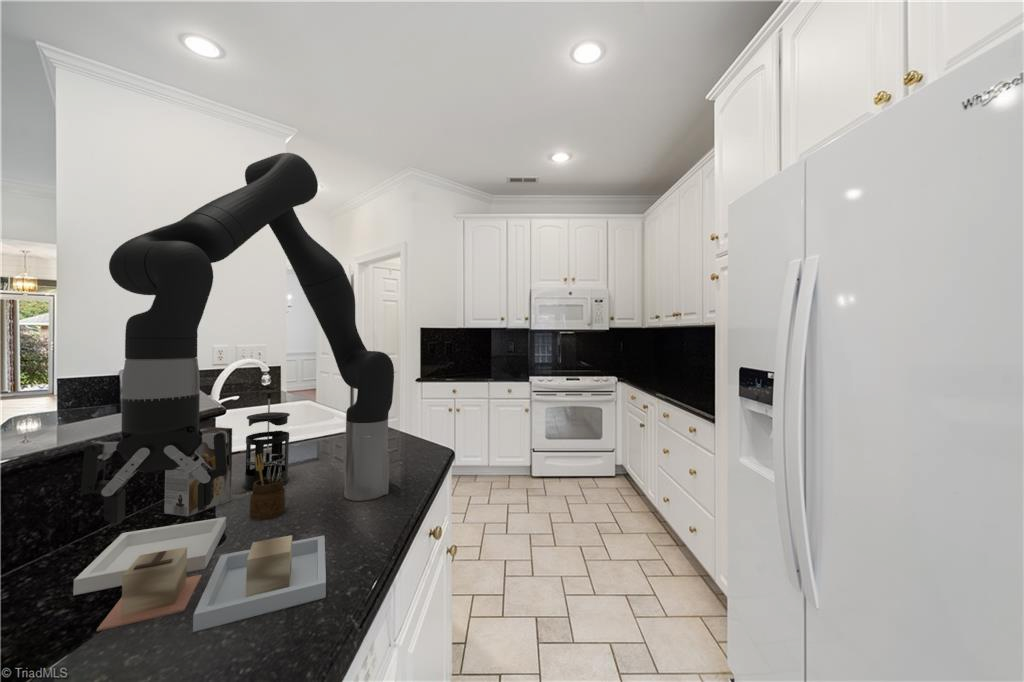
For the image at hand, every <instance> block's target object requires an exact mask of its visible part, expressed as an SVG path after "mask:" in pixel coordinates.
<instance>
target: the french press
mask: <svg viewBox="0 0 1024 682" xmlns="http://www.w3.org/2000/svg"><path fill="white" fill-rule="evenodd" d="M277 393H280V390H274V389H272V390H271V389H269V390H268V389H267V390H262V391H259V392H258V394H266V399H267V402H268V403H267V407H268V408H267V412H260V413H254V414H250V415H248V416H246V419H247V420H248V427H251V426H252V425H253V424H254V425H255V424H257V423H264V422H267V430H266V431H263V432H262V431H260V432H257V433H252V434H249V435H247V436H246V437H245V445H246V450H245V472H244V484H243V487H242V488H243V489H244V490H246V491H249V492H253V484H254V482H256V481H258V480H261V479H260V473H259V471H256V466H255V458H254V456H251V453H252V451H251V450H252V449H251V446H255V448H254V449H255V450H254V451H255V453H254V455H256V459H257V465H258V458H257V455H258V454H259V458H260V454H262V458H263V464H264V469H263V470H262V477H263V479H264V478H270V477H280V478H282V479H283V482H284V485H283V486H285V485H287V484H288V483H289V482H290V478H289V449H290V448H289V445H290V432H288V431H285V430H273V431H272V430H270V424H271V425H274V426H285V425H287V424H288V419H289V418H288V417H290V416H291V413H289V412H284V411H283V412H278V411H275V412H274V411H273V412H272V411H271V410H270V409H271V408H270V407H271V399H272V397H273V395H272V394H277ZM270 411H271V412H270ZM270 437H271V438H270ZM262 438H264V439H262ZM266 438H267V439H266ZM283 442H285V443H284V453H283ZM270 445H271V453H270V452H269V451H270V450H269V449H270V448H269V446H270ZM264 446H266V453H264V450H265V449H264ZM274 462H275V463H276V464H274ZM277 462H278V463H277ZM283 462H284V464H283ZM272 463H273V464H272ZM279 463H280V464H279ZM260 464H261V458H260ZM251 466H254V467H252V468H251ZM268 467H269V468H268ZM270 467H271V470H270ZM274 467H276V469H274ZM281 467H282V469H281ZM269 470H270V471H269ZM279 470H280V472H279ZM267 472H268V473H267ZM278 472H279V474H278ZM273 473H275V475H274V474H273ZM280 474H281V475H280ZM268 475H269V477H268ZM288 481H289V482H288ZM286 483H287V484H286Z"/></svg>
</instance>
